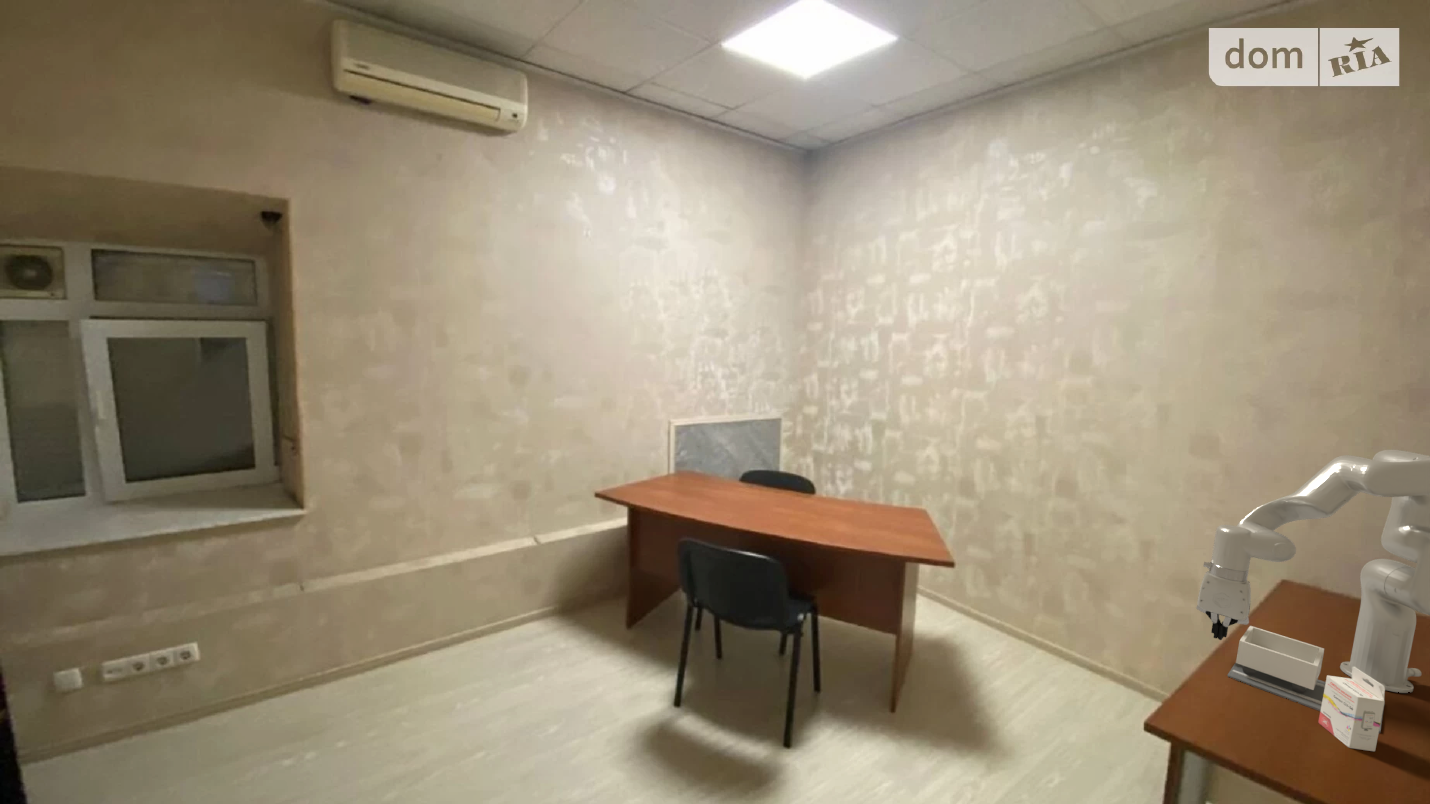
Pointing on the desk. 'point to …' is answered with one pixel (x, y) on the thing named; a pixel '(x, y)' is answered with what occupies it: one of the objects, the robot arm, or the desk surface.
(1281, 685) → the mat
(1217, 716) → the desk surface
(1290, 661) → the white open box
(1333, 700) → the ink cartridge box
